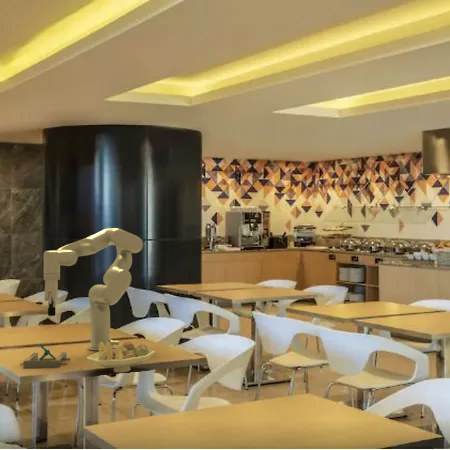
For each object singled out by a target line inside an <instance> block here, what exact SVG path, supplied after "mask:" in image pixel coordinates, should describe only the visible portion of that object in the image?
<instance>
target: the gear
mask: <svg viewBox="0 0 450 450" xmlns="http://www.w3.org/2000/svg"><path fill="white" fill-rule="evenodd" d="M39 347H40V348H41V349H42V350H43V351H44V352H43V355H42V356H41V357H40V358H39V359H38V360H44V358H45V357H47V356H48V355H49V356H50V357H51V358H52V360H55V359H56V358H57V357H55V356H54V355H53V354H52V353H51V351H50V350H49V349H46V348H45V347H44V346H43V345H42V344H41V343H40V344H39Z"/></svg>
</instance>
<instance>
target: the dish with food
mask: <svg viewBox="0 0 450 450" xmlns="http://www.w3.org/2000/svg"><path fill="white" fill-rule="evenodd" d="M116 346H117V347H116V348H113V349H112V345H111V343H110V342H107V343H106V346H104V344H103V342H100V343H99V350H98V351H96V352H95V353H92V354H90V355H89V356H87V357H86V359H87V360H88V362H89V363H92V364H94V365H98V366H100V367H104V368H108V369H109V368H110V369H112V368H113V372H114V373H127V372H130V371H131V367H133V366H137V365H140V364H142V363H143V362H145V361H147V360H149V359H150V358H152V357H153V356H154V354H155V353H156V350H154V349H149V348H148V346H147V345H146V344H145V343H143V344H142V343H140V344H139V345H138V346H136V347H135V345H134V343H133V342H131V341H126V342H124V343H123V344H122V345H116Z"/></svg>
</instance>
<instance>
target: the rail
mask: <svg viewBox="0 0 450 450" xmlns="http://www.w3.org/2000/svg"><path fill="white" fill-rule="evenodd" d="M38 358H39V352H33V353H31V355H29V356H28V357H25V359H24V360H23V362H20V366H23V369H36V368H37V369H38V368H39V369H42V368H45V369H46V368H60V366H61V365H68V362H67V361H70V360H71V357H67V351H63V352H61V353H60V354H59V355H57V357H55V358H56V359H55V360H54V359H47V360H46V359H42V360H39V359H38ZM65 361H66V362H65Z"/></svg>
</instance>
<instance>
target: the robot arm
mask: <svg viewBox="0 0 450 450" xmlns="http://www.w3.org/2000/svg"><path fill="white" fill-rule="evenodd" d="M110 246H115V248H116V258H115V259H114V262H113V263H112V264H110V266H109V268H108V269H107V271H106V272H105V273H104V275H103V277H102V278H103V279H102V280H103V283H104V284H95V285H93V286H91V288H89V291H88V300H89V301H88V302H89V307H90V308H89V309H90V345H88V346H87V350H88V351H89V350H90V351H99V343H100V342H103V344H104V346H106V343H107V342H110V343H111V345H112V349H114V346H120V341H119V340H113V339H112V338H111V310H110V306H113V305H115V304H116V303H118V302H119V301H120V300H121V298H122V296H123V295H124V294H125V293H126V291H127V290H128V288H129V287H130V286H131V282H132V274H131V272H130V271H129V270H130V268H131V267H132V264H133V255H132V254H137V253H140V252H141V251H142V249H143V247H144V243H143V239H141V238H140V237H139V236H138V235H135V234H133V233H131V232H128V231H126V230H124V229H121V228H117V227H114V228H112V227H108V228H103V229H102V230H100V231H98V232H96V233H94V234H91V235H89V236H87V237H85V238H82V239H80V240H77V241H74V242H71V243H68V244H66V245H64V246H61V247H60V248H58V249H56V250H45V251H44V252H43V281H45V282H44V283H45V284H44V302H47V303H48V305H47V316H48V317H55V316H56V301H57V300H58V295H59V292H58V290H59V289H58V287H59V282H58V281H60V280H61V266H65V267H66V266H67V267H71V266H74V265H75V264H76V263H77V261H78V258H79V257H84V256H90V255H94V254H96V253H98V252H100V251H102V250H103V249H106V248H107V247H110Z"/></svg>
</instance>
